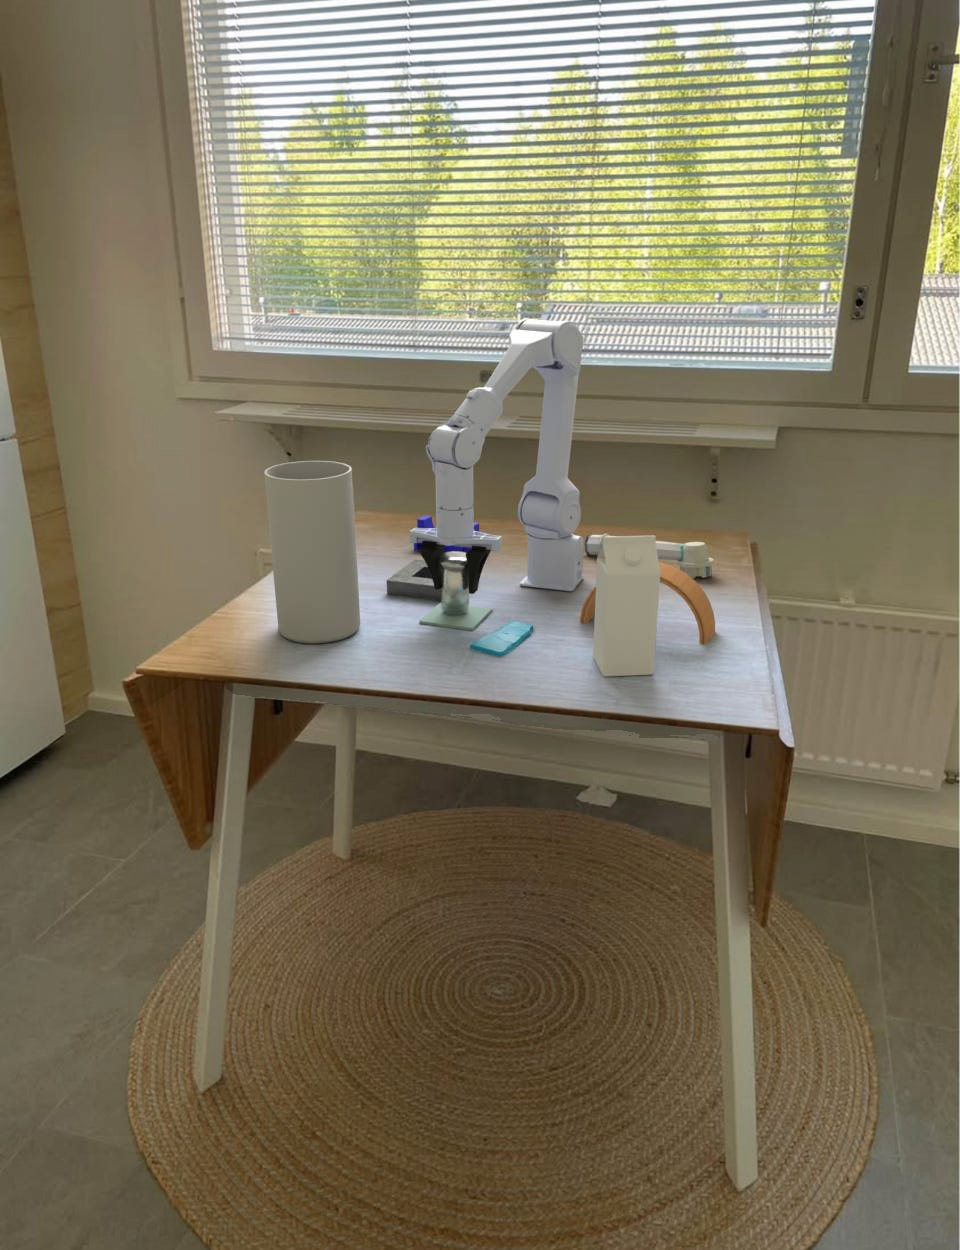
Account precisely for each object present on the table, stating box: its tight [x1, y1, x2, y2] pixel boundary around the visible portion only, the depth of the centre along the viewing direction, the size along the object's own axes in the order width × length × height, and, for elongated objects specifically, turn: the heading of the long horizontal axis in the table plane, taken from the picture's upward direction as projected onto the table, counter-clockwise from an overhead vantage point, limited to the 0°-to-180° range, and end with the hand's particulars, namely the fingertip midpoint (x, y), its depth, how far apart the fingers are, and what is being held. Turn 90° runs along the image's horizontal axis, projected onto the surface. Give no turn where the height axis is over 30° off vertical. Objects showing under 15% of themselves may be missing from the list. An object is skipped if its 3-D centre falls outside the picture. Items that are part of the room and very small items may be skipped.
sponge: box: [469, 620, 534, 658], centre depth 145 cm, size 2×12×6 cm
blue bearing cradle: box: [413, 515, 480, 553], centre depth 185 cm, size 12×4×6 cm, turn 62°
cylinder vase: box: [263, 460, 361, 645], centre depth 144 cm, size 12×12×25 cm
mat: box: [419, 601, 493, 631], centre depth 154 cm, size 9×9×1 cm
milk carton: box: [592, 535, 660, 677], centre depth 132 cm, size 7×7×19 cm
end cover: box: [439, 551, 470, 615], centre depth 152 cm, size 5×5×9 cm
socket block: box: [385, 559, 442, 602], centre depth 167 cm, size 12×12×2 cm
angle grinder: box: [583, 533, 715, 579], centre depth 177 cm, size 5×7×25 cm
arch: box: [579, 561, 716, 645], centre depth 148 cm, size 6×20×10 cm, turn 63°
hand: (456, 589), depth 152 cm, fingers closed on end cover, 5 cm apart
